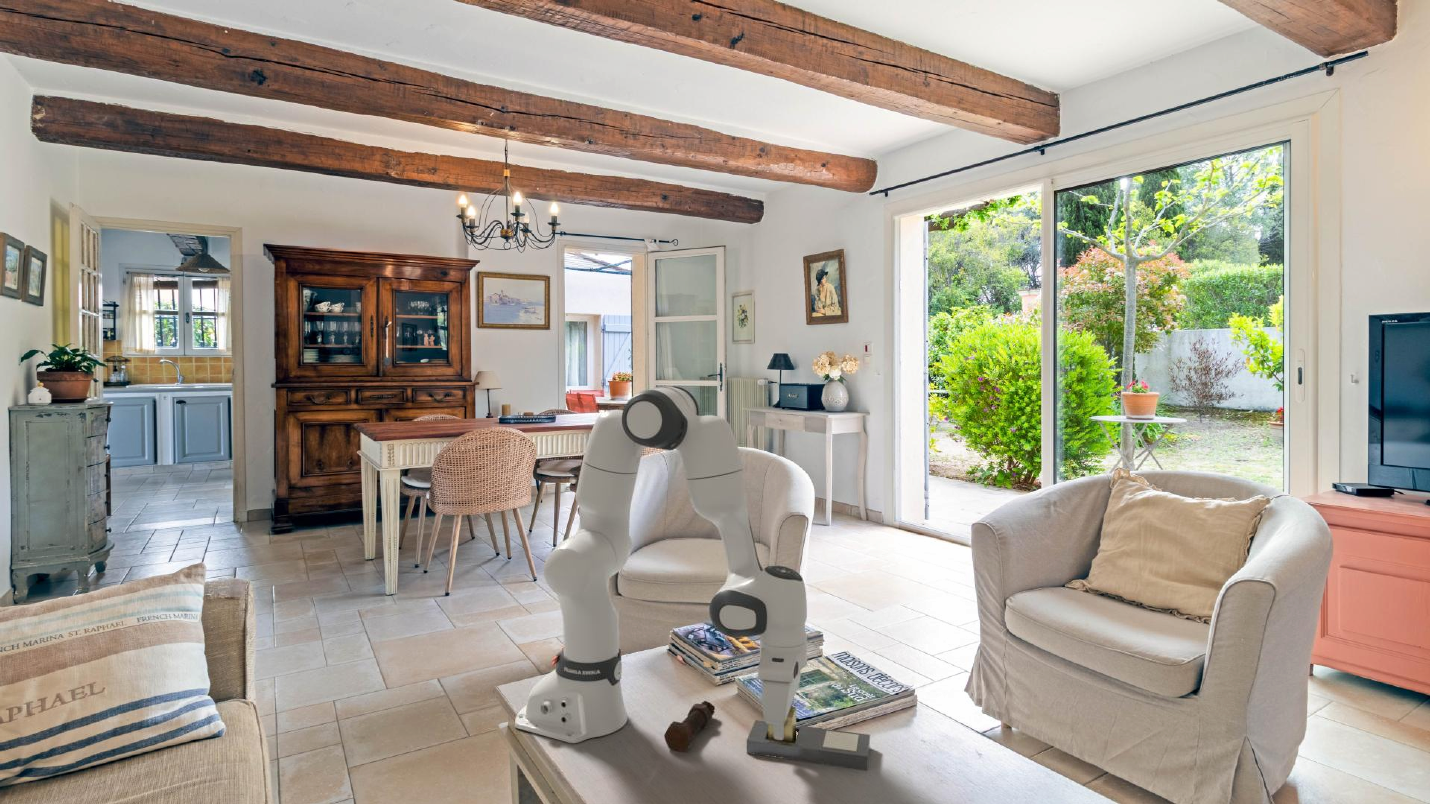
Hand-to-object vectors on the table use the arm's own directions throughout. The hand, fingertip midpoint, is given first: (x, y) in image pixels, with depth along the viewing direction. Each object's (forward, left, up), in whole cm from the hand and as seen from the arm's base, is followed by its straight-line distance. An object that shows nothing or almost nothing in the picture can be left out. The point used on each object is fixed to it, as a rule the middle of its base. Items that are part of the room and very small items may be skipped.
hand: (783, 725), depth 140 cm
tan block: (0, 0, -4) cm, 4 cm away
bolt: (-18, +1, -5) cm, 18 cm away
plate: (+5, 0, -4) cm, 6 cm away
